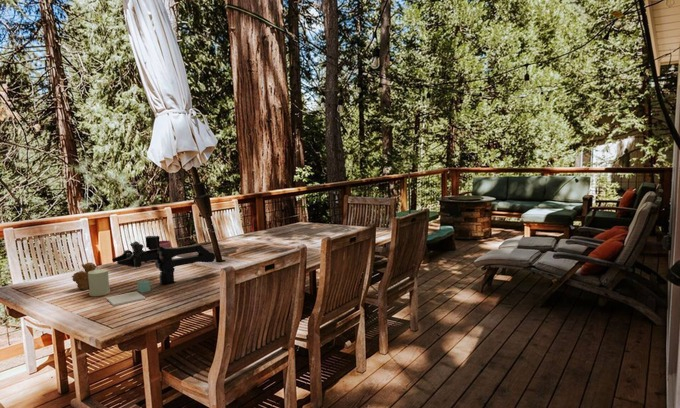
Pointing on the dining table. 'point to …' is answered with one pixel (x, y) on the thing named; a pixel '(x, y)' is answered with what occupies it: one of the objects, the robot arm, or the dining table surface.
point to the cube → (143, 286)
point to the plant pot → (163, 245)
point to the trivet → (125, 298)
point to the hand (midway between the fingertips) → (114, 261)
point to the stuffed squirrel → (83, 276)
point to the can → (98, 282)
